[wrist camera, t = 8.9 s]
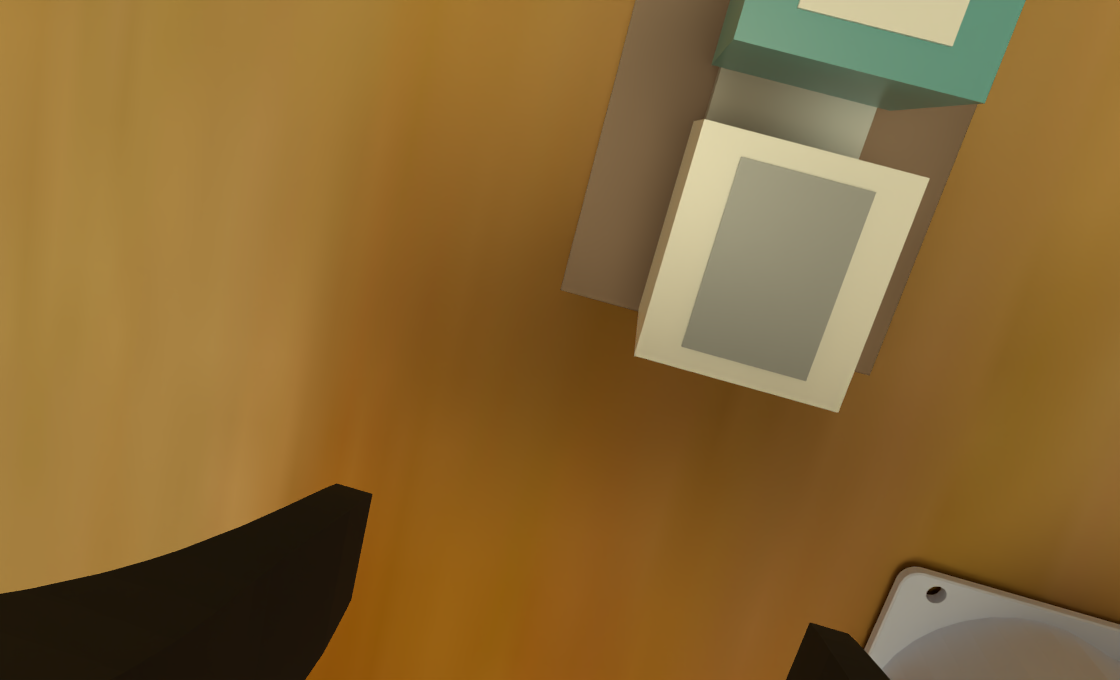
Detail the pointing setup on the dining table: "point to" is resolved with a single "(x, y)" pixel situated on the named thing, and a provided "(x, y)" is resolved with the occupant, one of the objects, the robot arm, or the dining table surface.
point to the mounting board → (740, 101)
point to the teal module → (872, 47)
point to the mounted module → (773, 263)
